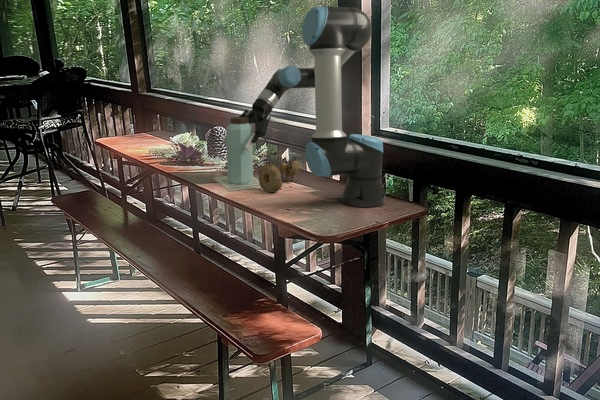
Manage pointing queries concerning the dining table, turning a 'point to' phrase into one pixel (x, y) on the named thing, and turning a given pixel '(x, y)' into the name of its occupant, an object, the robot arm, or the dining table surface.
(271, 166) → the stone disc
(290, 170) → the lion figurine
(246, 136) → the water bottle
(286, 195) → the dining table surface
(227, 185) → the letter
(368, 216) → the dining table surface
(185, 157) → the lily
